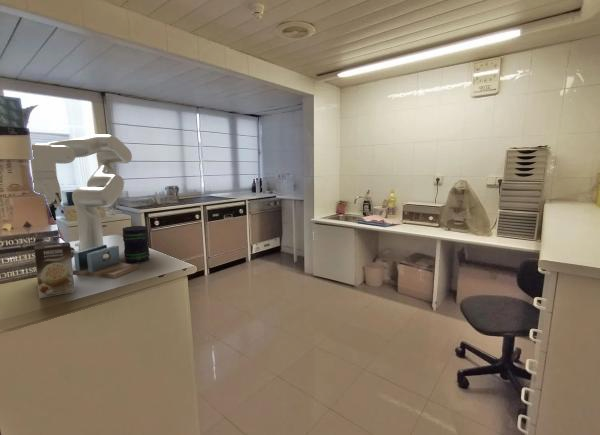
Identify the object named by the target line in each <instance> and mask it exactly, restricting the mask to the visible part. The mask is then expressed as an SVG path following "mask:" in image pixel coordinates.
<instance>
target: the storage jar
mask: <svg viewBox="0 0 600 435" xmlns="http://www.w3.org/2000/svg"><path fill="white" fill-rule="evenodd" d="M122 238H123V239H122V241H123V244H124V250H123V253H124V255H123V257H124V264H135V265H138V264H142V262H143V263H146V262H148V261H149V260H150V248H149V232H148V227H147V226H146V225H132V226H126V227H123V228H122Z"/></svg>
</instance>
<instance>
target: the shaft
mask: <svg viewBox="0 0 600 435" xmlns="http://www.w3.org/2000/svg"><path fill="white" fill-rule="evenodd" d="M74 252H78V251H77V250H76V249H75V248H74V247H71V257H72V259H73V258H74ZM90 253H91V252H90ZM102 256H103V259H104V260H109V259H110V258H111V255H110V254H105V253H103V254H102Z"/></svg>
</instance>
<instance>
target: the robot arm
mask: <svg viewBox="0 0 600 435" xmlns="http://www.w3.org/2000/svg"><path fill="white" fill-rule="evenodd" d="M31 144H32V150H33V157H34V159H33V160H30V168H31V174H32V179H33V183H34V191H35V192H37V193H40V194H44V195H45V196H46V199H47V203H48V205H49V208H50V211H51V213H52V216H53V218H54V220H55V221H54V222H56V221H57V213H56V211H57V209H58V208H60V207H62V204H61V203H62V202H63V199H62V198H63V197H62V190H61V186H60V181H59V179H58V172H57V171H58V170H57V164H64V165H65V164H71V163H72V162H74V161H75V159H77V158H85V157H88V156H91V155H92V156H93V155H96V160H97V169H96V170H95V171H94V172H93V174H92V175H91V176H90V177H89V178H88V180H87V183H86V186H81V187H77V188H76V189H74V190H73V191H72V193H71V194H72V195H71V200H72V202H73V204H74V208H75V212H76V213H75V214H76V220H77V221H76V222H77V228H78V229H77V231H78V241H77V243H75V244H74V247H78V249H76V251H81V250H85V249H88V248H92V247H96V246H99V245H104V236H103V225H102V216H101V213H100V211H99V209H98V208H109V207H111V206H113V205H114V204H115V202H116V201H117V199H118V198H119V197H120V195H121V194H122V192H123V191H124V188H125V187H124V186H125V181H124V179H123V177H122V176H121V175H119V174H117V172H116V170H115V168H114V167H113V165H112V164H129V163H130V162H131V161H132V160H133V154H132V151H131V150H130V148H128V147H127V146H126V145H125V143H123V142H122V140H120V139H119V138H118V137H116V136H115V135H111V134H91V135H87V136H82V137H78V138H72V139H66V140H58V141H51V142H47V143H31Z"/></svg>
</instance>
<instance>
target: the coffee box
mask: <svg viewBox="0 0 600 435" xmlns="http://www.w3.org/2000/svg"><path fill="white" fill-rule="evenodd" d="M33 249H34V260H35V268H36V278H37V279H36V280H37V287H38V288H37V289H38V290H37V291H38V298H39V299H44V298H45V299H46V298H49V297H54V296H58V295H59V296H60V295H64V294H69V293H74V292H75V291H76V290H75V283H74V282H75V279H74V274H73V269H74V268H73V258H72V257H71V243H70V242H69V241H66V242H55V243H45V244H35V245H34V246H33Z"/></svg>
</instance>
